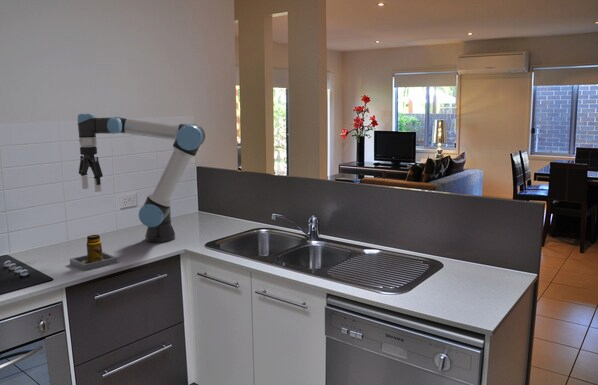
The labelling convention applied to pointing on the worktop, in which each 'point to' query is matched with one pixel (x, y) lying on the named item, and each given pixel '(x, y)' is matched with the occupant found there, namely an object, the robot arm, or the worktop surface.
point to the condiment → (93, 249)
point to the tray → (106, 261)
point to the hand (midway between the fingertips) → (91, 190)
